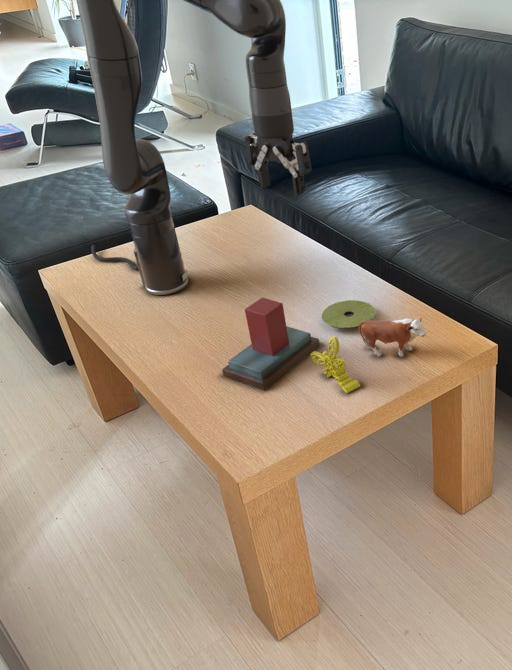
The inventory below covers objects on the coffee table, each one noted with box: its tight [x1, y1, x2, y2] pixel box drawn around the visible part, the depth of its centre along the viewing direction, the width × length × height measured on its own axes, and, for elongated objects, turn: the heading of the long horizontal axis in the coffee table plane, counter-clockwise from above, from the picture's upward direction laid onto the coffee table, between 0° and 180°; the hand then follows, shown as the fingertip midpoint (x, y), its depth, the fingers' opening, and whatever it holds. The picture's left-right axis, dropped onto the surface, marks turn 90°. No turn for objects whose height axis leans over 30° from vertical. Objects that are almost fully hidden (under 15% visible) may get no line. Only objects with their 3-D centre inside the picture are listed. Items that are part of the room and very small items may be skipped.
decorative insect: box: [309, 335, 361, 394], centre depth 135 cm, size 13×3×10 cm
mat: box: [321, 299, 376, 329], centre depth 154 cm, size 11×11×2 cm
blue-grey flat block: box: [221, 325, 320, 391], centre depth 142 cm, size 10×17×3 cm, turn 151°
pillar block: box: [244, 297, 289, 356], centre depth 139 cm, size 5×5×9 cm
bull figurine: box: [358, 317, 427, 358], centre depth 142 cm, size 4×13×8 cm, turn 78°
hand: (282, 190), depth 148 cm, fingers open, 8 cm apart
